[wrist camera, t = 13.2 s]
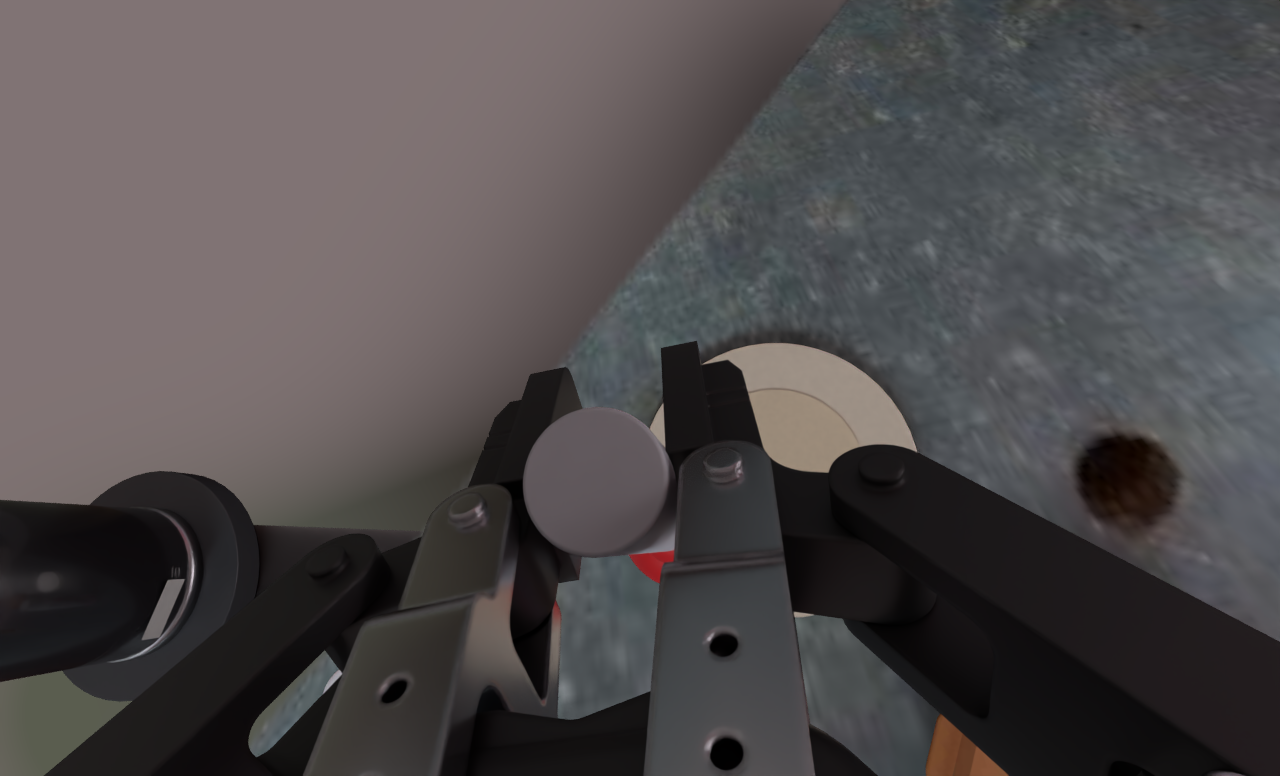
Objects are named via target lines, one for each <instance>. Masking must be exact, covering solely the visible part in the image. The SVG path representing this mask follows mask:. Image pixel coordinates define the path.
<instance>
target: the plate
mask: <svg viewBox="0 0 1280 776" xmlns="http://www.w3.org/2000/svg"><path fill="white" fill-rule="evenodd" d="M723 360H729V361H730V362H732V363H733V364H734V365H736V366H737V367H738V368H740V369H741V370H742V372H743V376H744V379H745V383H746V387H747V390H748V394H749V397H750V401H751V405H752V408H753V412H754V415H755V419H756V423H757V426H758V430H759V433H760V437H761V440H762V444H763V447H764V450H765V451H766V452H767V454H768V455H769V456H770V457H771V458H772V459H773V460H774V461H776V462H777V463H779V464H781V465H783V466H785V467H788V468H791V469H795V470H800V471H808V472H826V473H829V469H830V467H831V465H832V463H833V462H834V461H835V460H836V459H837V458H838V457H839V456H841V455H842V454H843V453H845V452H847V451H849V450H852V449H854V448H857V447H861V446H866V445H874V444H887V445H896V446H901V447H905V448H908V449H911V450H913V451H915V452H917V449H916V446H915V443H914V440H913V438H912V435H911V432H910V430H909V428H908V426H907V424H906V422H905V420H904V418H903V416H902V414H901V413H900V411H899V410H898V408H897V407H896V405H895V404H894V402H893V401H892V399H891V398H890V397H889V396H888V395H887V394H886V393H885V391H884V390H883V389H882V388H881V387H880V386H879V385H878V384H877V383H876V382H875V381H873V380H872V379H871V378H870V377H869V376H868V375H867V374H865V373H864V372H862V371H861V370H860V369H858V368H857V367H855V366H854V365H852V364H851V363H849V362H847V361H845V360H843V359H841V358H839V357H837V356H835V355H833V354H830V353H827V352H825V351H822V350H819V349H816V348H811V347H807V346H803V345H797V344H788V343H764V344H756V345H749V346H745V347H741V348H737V349H734V350H731V351H728V352H726V353H723V354H721V355H718V356H716V357H714V358H712V359H711V360H709V361H707V362H705V363H703V364H708V363H713V362H718V361H723ZM703 364H702V365H703ZM650 430H651V432H652V433H653V434H654V435H655V436H656V437H657V439H658V440H659V441H660V442H661V443H662V445H663V446H664V447H665V428H664V405H663V404H662V405H661V407H660V408H659V410H658V412H657V414H656V416H655V418H654V420H653V422H652V424H651V427H650ZM812 615H814V614H806V613H799V612H794V617H807V616H812Z"/></svg>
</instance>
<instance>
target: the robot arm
mask: <svg viewBox="0 0 1280 776" xmlns="http://www.w3.org/2000/svg"><path fill="white" fill-rule="evenodd" d="M661 360H662V383H663V405H664V428H665V450H666V453H667V454H668V456H669V459H670V461H671V463H672V466H673V469H674V472H675V476H676V481H677V491H678V496H677V512H676V528H675V545H674V560H673V562H665V563H664V564H663V566H662V569H661V575H660V585H659V597H658V609H657V621H656V633H655V645H654V657H653V669H652V681H651V691H650V692H647V693H645V694H642V695H640V696H637V697H634V698H632V699H629V700H627V701H624V702H622V703H619V704H616V705H614V706H611V707H609V708H606V709H604V710H601V711H598V712H596V713H593V714H591V715H588V716H586V717H583V718H580V719H574V720H565V719H559V718H558V713H557V712H558V687H559V665H560V642H561V620H562V619H561V612H560V608H559V606H558V604H557V601H556V594H557V587H558V583H562V582H568V581H575V580H579V574H580V566H581V556H576V555H573V554H570V553H567V552H565V551H563V550H561V549H559V548H557V547H556V546H554V545H553V544H551V543H550V542H549V541H548V540H547V539H546V538H545V537H543V536H542V534H541V533H540V532H539V531H538V529H537V528H536V527H535V525H534V523H533V522H532V520H531V518H530V516H529V513H528V511H527V508H526V504H525V500H524V494H523V477H524V470H525V465H526V462H527V459H528V456H529V454H530V452H531V449H532V447H533V445H534V444H535V442H536V441H537V439H538V438H539V437H540V435H541V434H542V433H543V432H544V431H545V430H546V429H547V428H548V427H549V426H550V425H551V424H552V423H554V422H555V421H556V420H558V419H559V418H561V417H563V416H565V415H566V414H569V413H571V412H574V411H576V410H580V409H582V406H581V403H580V400H579V396H578V393H577V390H576V387H575V384H574V381H573V378H572V375H571V373H570V371H569V370H568V368H566V367H564V368H559V369H554V370H549V371H544V372H539V373H534V374H531V375H530V376H529V379H528V382H527V385H526V388H525V391H524V394H523V397H522V400H519V401H513V402H510V403H509V404H508V405H507V406H506V407H505V408H504V409H503V410H502V411H501V412H500V413H499V414H498V415H497V417H495V419H494V422H493V425H492V427H491V430H490V432H489V437H487V440H486V442H485V445H484V450H483V451H482V453H481V455H480V458H479V460H478V463H477V466H476V468H475V471H474V473H473V476H472V478H471V481H470V484H469V486H468V488H465V489H463V490H460V491H458V492H456V493H455V494H453V495H451V496H450V497H448V498H447V499H445V500H444V501H443V502H442V503H440V504H439V505H438V506H437V507H436V508H435V510H434V511H433V512H432V513H431V515H430V517H429V519H428V521H427V523H426V526H425V529H424V532H423V535H422V537H420V538H418V539H416V540H413V541H411V542H408V543H406V544H403V545H401V546H398V547H396V548H393V549H391V550H388V551H386V552H383V553H381V551H380V550H379V548H378V546H377V545H376V543H375V541H374V540H373V539H372V538H371V537H370V536H368V535H365V534H348V535H344V536H341V537H338V538H335V539H332V540H330V541H328V542H326V543H324V544H322V545H320V546H319V547H317V548H315V549H314V550H312V551H311V552H310V553H308V554H307V555H306V556H305V557H303V558H302V559H301V560H300V561H299V562H297V563H296V564H295V565H294V566H293V567H291V568H290V569H289V570H288V571H287V572H285V573H284V574H283V575H282V576H281V577H280V578H278V579H277V580H276V581H275V582H274V583H272V584H271V585H270V586H269V587H268V588H266V589H265V590H264V591H263V592H262V593H261V594H259V595H258V596H257V597H256V598H255V599H253V600H252V601H251V602H250V603H249V604H247V605H246V606H245V607H244V608H243V609H242V610H240V611H239V612H238V613H237V614H236V615H234V616H233V617H232V618H231V619H230V620H228V621H227V622H226V623H225V624H224V625H222V626H221V627H220V628H219V629H218V630H217V631H215V632H214V633H213V634H212V635H211V636H209V637H208V638H207V639H206V640H205V641H203V642H202V643H201V644H200V645H199V646H198V647H196V648H195V649H194V650H193V651H192V652H190V653H189V654H188V655H187V656H186V657H184V658H183V659H182V660H181V661H180V662H179V663H177V664H176V665H175V666H174V667H173V668H171V669H170V670H169V671H168V672H167V673H165V674H164V675H163V676H162V677H161V678H159V679H158V680H157V681H156V682H155V683H154V684H152V685H151V686H150V687H149V688H148V689H146V690H145V691H144V692H143V693H142V694H140V695H139V696H138V697H137V698H136V699H135V700H133V701H132V702H131V703H130V704H129V705H127V706H126V707H125V708H124V709H123V710H122V711H120V712H119V713H118V714H117V715H116V716H114V717H113V718H112V719H111V720H110V721H108V722H107V723H106V724H105V725H104V726H102V727H101V728H100V729H99V730H98V731H97V732H95V733H94V734H93V735H92V736H91V737H89V738H88V739H87V740H86V741H85V742H83V743H82V744H81V745H80V746H79V747H78V748H76V749H75V750H74V751H73V752H72V753H70V754H69V755H68V756H67V757H66V758H64V759H63V760H62V761H61V762H60V763H59V764H57V765H56V766H55V767H54V768H53V769H51V770H50V771H49V772H48V773H47V774H45V775H44V776H877V775H876V774H875V773H874V772H873V771H872V770H871V769H870V768H869V767H868V766H866V765H865V764H864V763H863V762H862V761H861V760H860V759H859V758H858V757H857V756H855V755H854V754H853V753H852V752H851V751H850V750H848V749H847V748H846V747H845V746H844V745H842V744H841V743H839V742H838V741H837V740H835V739H834V738H832V737H831V736H829V735H828V734H827V733H825V732H824V731H822V730H820V729H818V728H816V727H815V726H813V725H811V724H810V719H809V713H808V706H807V699H806V693H805V686H804V679H803V672H802V665H801V658H800V651H799V644H798V637H797V630H796V624H795V617H794V612H799V613H806V614H814V615H821V616H828V617H835V618H842V619H843V620H844V623H845V625H846V626H847V628H848V629H849V630H850V631H851V632H852V634H853V635H854V636H855V637H857V638H858V639H859V640H860V641H861V642H862V643H863V644H864V645H865V646H867V647H868V648H869V649H870V650H871V651H872V652H873V653H874V654H875V655H876V656H878V657H879V658H880V659H881V660H882V661H883V662H884V663H885V664H886V665H888V666H889V667H890V668H891V669H892V670H893V671H894V672H895V673H896V674H897V675H899V676H900V677H901V678H902V679H903V680H904V681H905V682H906V683H907V684H908V685H910V686H911V687H912V688H913V689H914V690H915V691H916V692H917V693H918V694H920V695H921V696H922V697H923V698H924V699H925V700H926V701H927V702H928V703H929V704H931V705H932V706H933V707H934V708H935V709H936V710H937V711H938V712H939V713H940V714H942V715H943V716H944V717H945V718H946V719H947V720H948V721H949V722H950V723H952V724H953V725H954V726H955V727H956V728H957V729H958V730H959V731H960V732H961V733H963V734H964V735H965V736H966V737H967V738H968V739H969V740H970V741H971V742H973V743H974V744H975V745H976V746H977V747H978V748H979V749H980V750H981V751H982V752H984V753H985V754H986V755H987V756H988V757H989V758H990V759H991V760H992V761H993V762H995V763H996V764H997V765H998V766H999V767H1000V768H1001V769H1002V770H1003V771H1005V772H1006V773H1007V774H1008V775H1009V776H1280V642H1279V641H1277V640H1275V639H1273V638H1271V637H1269V636H1267V635H1266V634H1264V633H1262V632H1260V631H1258V630H1256V629H1254V628H1252V627H1250V626H1248V625H1246V624H1244V623H1243V622H1241V621H1239V620H1237V619H1235V618H1233V617H1231V616H1229V615H1227V614H1225V613H1223V612H1222V611H1220V610H1218V609H1216V608H1214V607H1212V606H1210V605H1208V604H1206V603H1204V602H1202V601H1201V600H1199V599H1197V598H1195V597H1193V596H1191V595H1189V594H1187V593H1185V592H1183V591H1181V590H1180V589H1178V588H1176V587H1174V586H1172V585H1170V584H1168V583H1166V582H1164V581H1162V580H1160V579H1159V578H1157V577H1155V576H1153V575H1151V574H1149V573H1147V572H1145V571H1143V570H1141V569H1139V568H1137V567H1136V566H1134V565H1132V564H1130V563H1128V562H1126V561H1124V560H1122V559H1120V558H1118V557H1116V556H1115V555H1113V554H1111V553H1109V552H1107V551H1105V550H1103V549H1101V548H1099V547H1097V546H1095V545H1094V544H1092V543H1090V542H1088V541H1086V540H1084V539H1082V538H1080V537H1078V536H1076V535H1074V534H1073V533H1071V532H1069V531H1067V530H1065V529H1063V528H1061V527H1059V526H1057V525H1055V524H1053V523H1052V522H1050V521H1048V520H1046V519H1044V518H1042V517H1040V516H1038V515H1036V514H1034V513H1032V512H1030V511H1029V510H1027V509H1025V508H1023V507H1021V506H1019V505H1017V504H1015V503H1013V502H1011V501H1009V500H1008V499H1006V498H1004V497H1002V496H1000V495H998V494H996V493H994V492H992V491H990V490H988V489H987V488H985V487H983V486H981V485H979V484H977V483H975V482H973V481H971V480H969V479H967V478H966V477H964V476H962V475H960V474H958V473H956V472H954V471H952V470H950V469H948V468H946V467H945V466H943V465H941V464H939V463H937V462H935V461H933V460H931V459H929V458H927V457H925V456H923V455H922V454H920V453H918V452H915V451H913V450H911V449H908V448H905V447H901V446H896V445H887V444H874V445H866V446H861V447H857V448H854V449H852V450H849V451H847V452H845V453H843V454H842V455H841V456H839V457H838V458H837V459H836V460H835V461H834V462H833V463H832V465H831V467H830V469H829V473H826V472H808V471H800V470H795V469H791V468H788V467H785V466H783V465H781V464H779V463H777V462H776V461H774V460H773V459H772V458H771V457H770V456H769V455H768V454H767V452H766V451H765V450H764V447H763V444H762V440H761V437H760V433H759V430H758V426H757V423H756V419H755V415H754V412H753V408H752V405H751V401H750V397H749V394H748V390H747V387H746V383H745V379H744V376H743V372H742V370H741V369H740V368H738V367H737V366H736V365H734V364H733V363H732V362H730V361H729V360H723V361H718V362H713V363H708V364H703V365H702V363H701V358H700V354H699V349H698V344H697V341H694V342H689V343H684V344H679V345H674V346H669V347H664V348H661ZM202 579H203V556H202V551H201V547H200V543H199V541H198V538H197V536H196V534H195V532H194V530H193V529H192V527H191V526H190V525H189V524H188V523H187V521H185V520H184V519H183V518H182V517H181V516H179V515H178V514H176V513H174V512H172V511H170V510H167V509H163V508H154V507H131V508H125V507H109V506H96V505H79V504H61V503H45V502H27V501H11V500H0V682H3V681H9V680H14V679H20V678H25V677H30V676H36V675H41V674H46V673H52V672H57V671H63V670H68V669H74V668H80V667H85V666H90V665H95V664H101V663H106V662H111V663H113V662H121V661H126V660H132V659H137V658H141V657H144V656H147V655H149V654H151V653H153V652H155V651H157V650H159V649H160V648H162V647H163V646H164V645H166V644H167V643H168V642H169V641H171V640H172V639H173V638H174V637H175V636H176V635H177V633H178V632H179V631H180V630H181V629H182V627H183V626H184V625H185V623H186V622H187V620H188V618H189V617H190V615H191V613H192V611H193V609H194V607H195V604H196V602H197V599H198V596H199V593H200V589H201V585H202ZM324 650H325V651H326V652H327V654H328V655H329V656H330V658H331V659H332V660H333V662H334V663H335V664H336V666H337V667H338V668H339V670H340V671H341V672H342V675H341V676H340V677H339V678H338V679H337V680H336V681H335V682H334V683H333V684H332V685H331V686H330V687H329V688H328V689H327V691H326V692H325V693H324V694H323V695H322V696H321V697H320V698H319V699H318V700H317V701H316V702H315V703H314V704H313V705H312V706H311V707H310V708H309V709H308V710H307V711H306V713H305V714H304V715H303V716H302V717H301V718H300V719H299V720H298V721H297V722H296V723H295V724H294V725H293V726H292V727H291V728H290V729H289V730H288V731H287V732H286V734H285V735H284V736H283V737H282V738H281V739H280V740H279V741H278V742H277V743H276V744H275V745H274V746H273V747H272V748H271V749H270V750H268V751H267V752H266V753H264V754H262V755H260V756H258V757H255V756H254V755H253V754H252V752H251V751H250V749H249V745H248V739H249V734H250V730H251V727H252V726H253V724H254V722H255V720H256V719H257V718H258V716H259V715H260V714H261V713H262V712H263V711H264V710H265V709H266V708H267V707H268V706H269V705H270V704H271V703H272V702H273V701H274V700H275V699H276V698H277V697H278V696H279V695H280V694H281V693H282V691H284V690H285V689H286V688H287V687H288V686H289V685H290V684H291V683H292V682H293V681H294V680H295V679H296V678H297V677H298V676H299V675H300V674H301V673H302V672H303V671H304V670H305V669H306V668H307V667H308V666H309V665H310V664H311V663H312V662H313V661H314V660H315V659H316V658H317V657H318V656H319V655H320V654H321V653H322V652H323V651H324Z"/></svg>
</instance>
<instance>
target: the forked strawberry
mask: <svg viewBox="0 0 1280 776" xmlns="http://www.w3.org/2000/svg"><path fill="white" fill-rule="evenodd" d="M523 494H524V500H525V504H526V508H527V511H528V513H529V516H530V518H531V520H532V522H533V523H534V525H535V527H536V528H537V529H538V531H539V532H540V533H541V534H542V536H543V537H545V538H546V539H547V540H548V541H549V542H550V543H551V544H553V545H554V546H556V547H557V548H559V549H561V550H563V551H565V552H567V553H570V554H573V555H576V556H581V557H591V558H597V557H609V556H620V555H629V556H630V558H631V559H632V561H633V562H634V563H635V565H636V566H637V567H638V568H639V569H640V570H641V571H642V572H643V573H644V574H645V575H646V576H648V577H649V578H651V579H652V580H654V581H656V582H658V583H660V575H661V569H662V566H663V564H664V563H665V562H673V560H674V545H675V528H676V512H677V496H678V491H677V481H676V476H675V472H674V469H673V466H672V463H671V461H670V459H669V456H668V454H667V453H666V450H665V447H664V446H663V445H662V443H661V442H660V441H659V440H658V439H657V437H656V436H655V435H654V434H653V433H652V432H651V430H650V429H649V428H648V427H647V426H646V425H645V424H643V423H642V422H641V421H640V420H638V419H637V418H635V417H633V416H632V415H630V414H628V413H625V412H623V411H620V410H617V409H613V408H606V407H591V408H584V409H580V410H576V411H574V412H571V413H569V414H566V415H565V416H563V417H561V418H559V419H558V420H556V421H555V422H554V423H552V424H551V425H550V426H549V427H548V428H547V429H546V430H545V431H544V432H543V433H542V434H541V435H540V437H539V438H538V439H537V441H536V442H535V444H534V445H533V447H532V449H531V452H530V454H529V456H528V459H527V462H526V465H525V470H524V477H523Z"/></svg>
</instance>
